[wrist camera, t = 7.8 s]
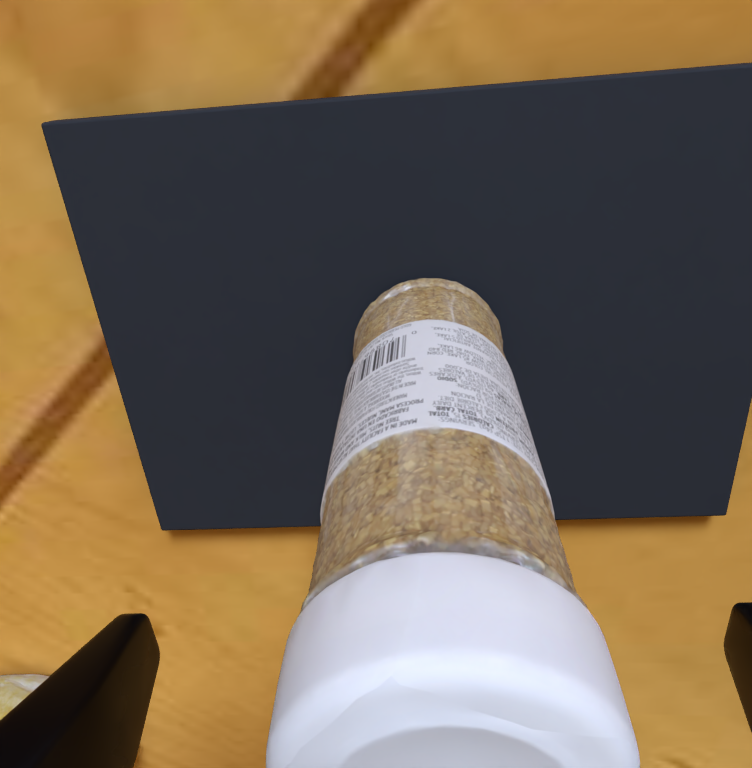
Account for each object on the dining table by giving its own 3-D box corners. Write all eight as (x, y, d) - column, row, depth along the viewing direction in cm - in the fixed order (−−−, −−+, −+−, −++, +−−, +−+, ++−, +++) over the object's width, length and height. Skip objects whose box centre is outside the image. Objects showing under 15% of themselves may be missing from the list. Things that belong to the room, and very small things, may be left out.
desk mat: (716, 501, 22) (726, 516, 22) (168, 517, 24) (161, 531, 23) (809, 57, 16) (828, 57, 15) (54, 120, 18) (39, 123, 17)
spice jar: (404, 430, 21) (390, 935, 9) (324, 321, 19) (176, 760, 7) (530, 365, 20) (712, 855, 8) (456, 240, 18) (539, 617, 6)
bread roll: (160, 708, 29) (126, 798, 26) (90, 797, 33) (51, 887, 30) (-12, 634, 28) (-75, 719, 24) (-67, 736, 31) (-127, 824, 28)
